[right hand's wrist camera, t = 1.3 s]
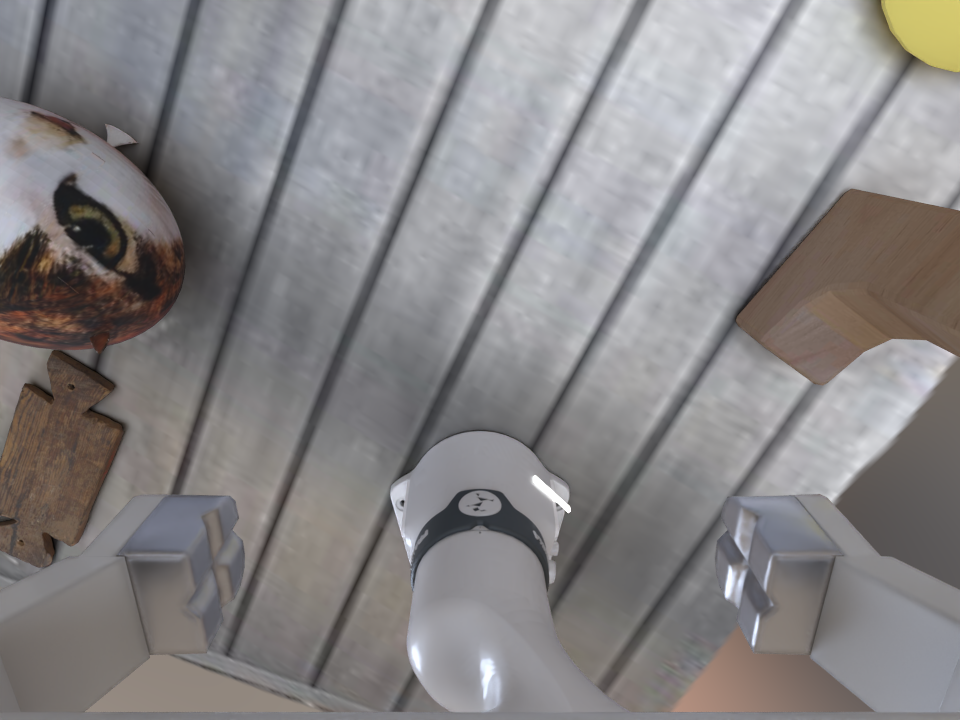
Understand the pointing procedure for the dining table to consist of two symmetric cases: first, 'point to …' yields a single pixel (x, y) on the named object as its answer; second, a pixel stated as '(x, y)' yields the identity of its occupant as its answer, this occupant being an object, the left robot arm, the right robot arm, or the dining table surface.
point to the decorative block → (862, 285)
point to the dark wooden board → (55, 461)
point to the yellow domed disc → (927, 29)
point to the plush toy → (79, 236)
